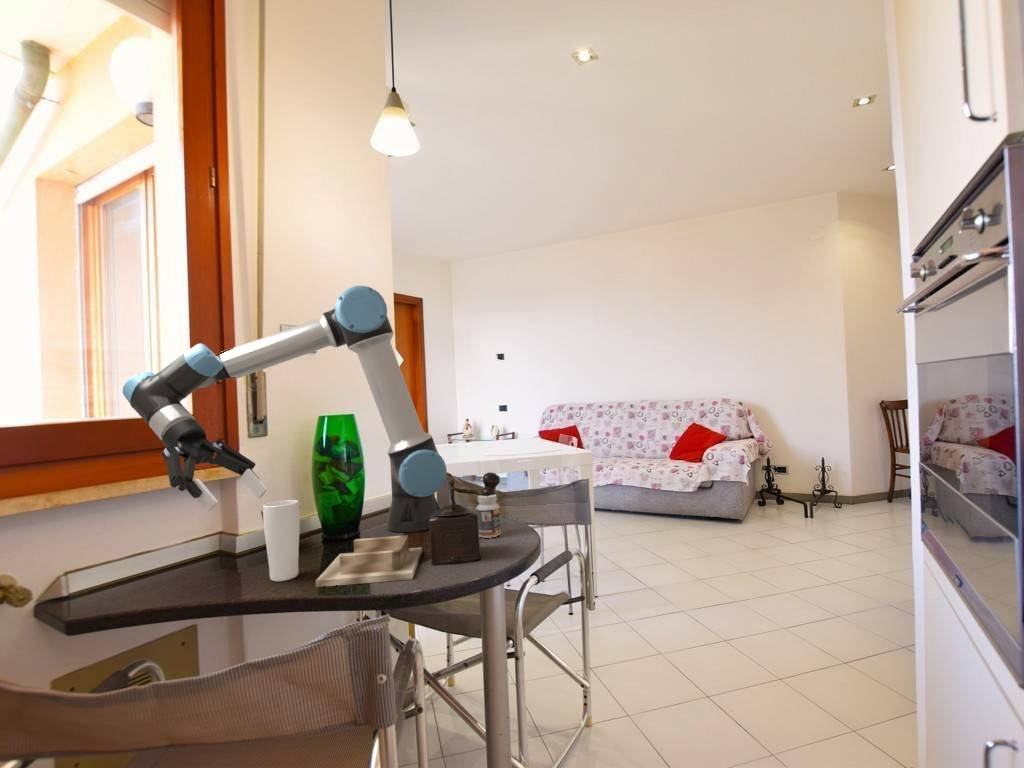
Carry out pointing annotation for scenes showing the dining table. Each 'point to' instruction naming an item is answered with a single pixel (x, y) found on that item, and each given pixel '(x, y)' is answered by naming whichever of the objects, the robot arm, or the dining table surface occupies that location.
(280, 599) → the dining table surface
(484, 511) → the pill bottle
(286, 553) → the drinking glass
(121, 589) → the dining table surface
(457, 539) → the manual coffee grinder
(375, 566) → the stand
